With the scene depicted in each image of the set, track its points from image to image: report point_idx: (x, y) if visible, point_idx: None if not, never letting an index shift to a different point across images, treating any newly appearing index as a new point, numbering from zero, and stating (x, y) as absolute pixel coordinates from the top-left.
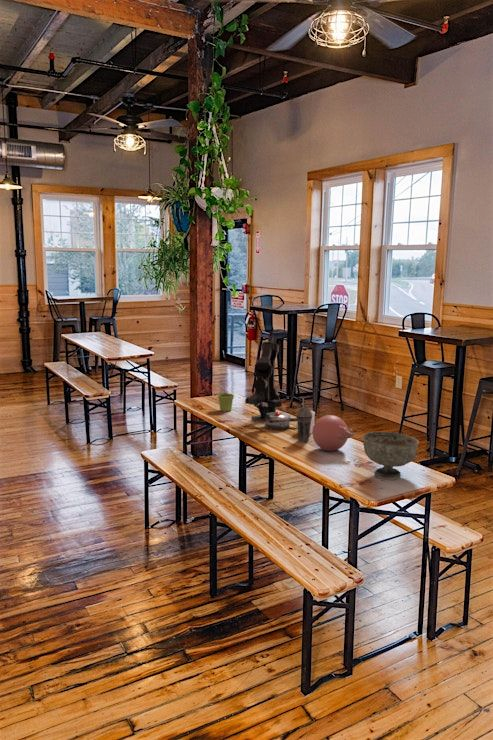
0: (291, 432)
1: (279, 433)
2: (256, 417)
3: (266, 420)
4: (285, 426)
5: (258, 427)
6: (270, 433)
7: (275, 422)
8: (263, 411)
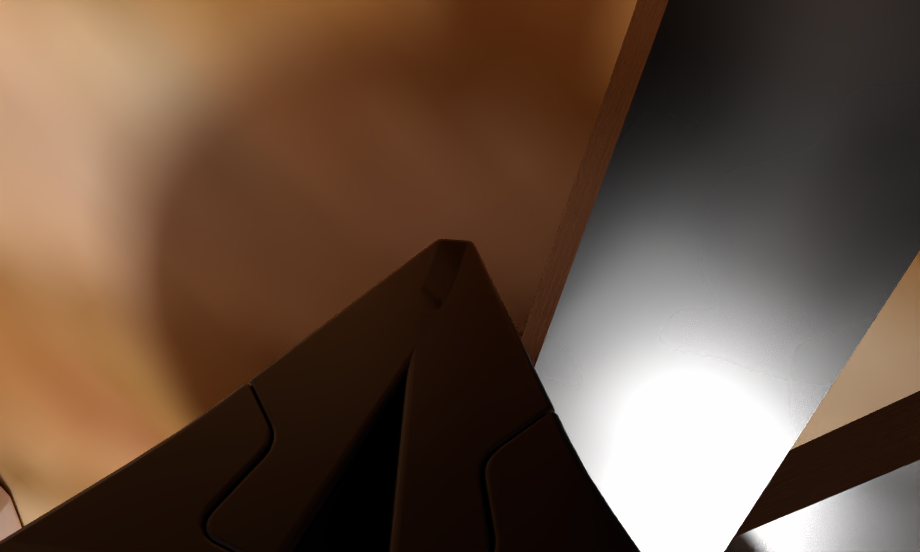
0: (18, 369)
1: (80, 172)
2: (649, 50)
3: None
4: None
5: None
6: (202, 27)
7: None
8: (134, 467)
